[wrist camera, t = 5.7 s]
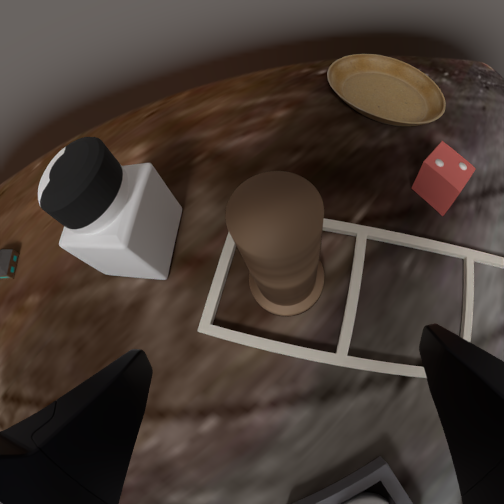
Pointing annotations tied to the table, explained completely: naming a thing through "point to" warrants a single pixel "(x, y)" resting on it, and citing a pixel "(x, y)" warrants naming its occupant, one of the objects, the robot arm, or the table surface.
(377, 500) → the white ball
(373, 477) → the dome base
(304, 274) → the brown flanged cylinder
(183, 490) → the table surface
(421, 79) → the plant saucer
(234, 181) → the table surface
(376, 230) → the track
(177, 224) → the medicine bottle
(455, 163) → the red die
